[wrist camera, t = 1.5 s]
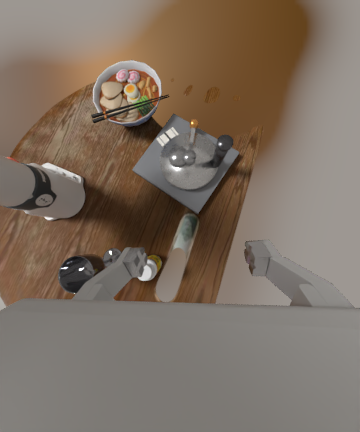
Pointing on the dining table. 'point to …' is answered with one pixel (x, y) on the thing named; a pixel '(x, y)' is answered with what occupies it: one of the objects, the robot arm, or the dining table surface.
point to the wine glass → (84, 269)
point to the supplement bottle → (151, 267)
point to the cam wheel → (192, 158)
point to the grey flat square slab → (152, 173)
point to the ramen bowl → (127, 93)
